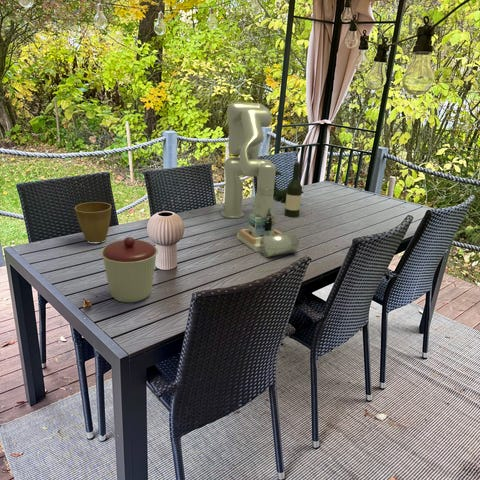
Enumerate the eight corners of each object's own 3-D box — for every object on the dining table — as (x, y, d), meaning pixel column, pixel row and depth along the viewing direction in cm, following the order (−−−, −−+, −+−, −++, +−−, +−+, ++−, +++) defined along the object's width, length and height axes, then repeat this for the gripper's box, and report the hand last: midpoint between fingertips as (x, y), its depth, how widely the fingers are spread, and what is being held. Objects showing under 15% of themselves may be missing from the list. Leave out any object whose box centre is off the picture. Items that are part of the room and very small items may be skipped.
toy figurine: (265, 201, 267) (298, 207, 252) (265, 171, 261) (299, 175, 246) (273, 198, 274) (307, 204, 258) (274, 169, 268) (308, 173, 253)
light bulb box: (254, 240, 191) (256, 218, 187) (247, 235, 196) (249, 213, 192) (274, 238, 196) (276, 215, 192) (266, 233, 201) (268, 211, 197)
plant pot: (103, 232, 196) (101, 199, 190) (119, 242, 186) (117, 208, 180) (71, 239, 186) (68, 205, 180) (87, 250, 176) (84, 214, 170)
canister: (92, 301, 139) (87, 241, 131) (124, 278, 155) (122, 224, 147) (139, 314, 133) (136, 253, 125) (167, 289, 149) (167, 234, 141)
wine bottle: (282, 216, 235) (287, 162, 224) (286, 212, 243) (291, 160, 232) (296, 218, 233) (303, 164, 222) (300, 214, 240) (306, 162, 229)
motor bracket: (235, 237, 200) (237, 219, 197) (267, 233, 208) (268, 216, 205) (267, 260, 177) (269, 241, 174) (300, 254, 186) (303, 235, 182)
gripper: (248, 186, 193) (245, 222, 199) (268, 197, 179) (265, 234, 185) (262, 185, 196) (259, 220, 203) (283, 195, 182) (279, 232, 189)
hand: (262, 227), depth 194 cm, fingers open, 9 cm apart
